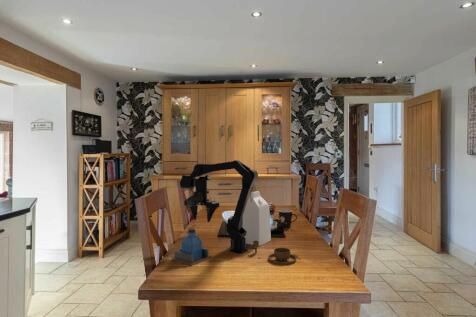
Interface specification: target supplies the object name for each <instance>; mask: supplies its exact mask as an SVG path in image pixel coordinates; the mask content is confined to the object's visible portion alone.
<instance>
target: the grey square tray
mask: <svg viewBox="0 0 476 317" xmlns="http://www.w3.org/2000/svg"><path fill="white" fill-rule="evenodd" d="M173 252H174V255H173V257H171V260H172V261H173V262H177V263H181V264H185V265H187V266H192V267H193V266H195V265H197V264H199V263H202V262H204V261H207V260H209V259H212V255H210V254H209V248H206V247H202V256H201V257H198V258H196V259H194V254H190V253H186V252H182V247H181V248H178V249H176V250H174V251H173Z"/></svg>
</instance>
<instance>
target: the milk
mask: <svg viewBox="0 0 476 317" xmlns="http://www.w3.org/2000/svg"><path fill="white" fill-rule="evenodd" d="M260 192H261V191H258V190H257V191H250V196H249V197H250V198H248V200H247V204H246V207H245V210H244V213H243V224H242V227H243V228H244V229H245V230H246V232H247V233H246V236H244V238H246V244H247V245H251V246H252V245H253V241H259V245H258V247H260V246H263V245H265V244H266V243H268V242H270V241H271V240H272V238H271V237H272V236H271V234H272V233H271V232H272V231H271V214H270V213H271V212H270V205H269V203H268V202H267V201H266V200H265V199H264V198H263V197H262V196H261V193H260Z"/></svg>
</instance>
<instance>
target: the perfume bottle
mask: <svg viewBox="0 0 476 317" xmlns="http://www.w3.org/2000/svg"><path fill="white" fill-rule="evenodd" d="M187 230H188V231H187V236H185V237H184V238H183V239H182V242H181V248H182V252H186V253H190V254H194V259H196V258H198V257H201V256H202V248H203V242H202V240H201V239H200V237H199V236H197V234H196V228H194V227H191V228H188V229H187Z"/></svg>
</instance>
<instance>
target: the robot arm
mask: <svg viewBox="0 0 476 317" xmlns="http://www.w3.org/2000/svg"><path fill="white" fill-rule="evenodd" d="M226 170H227V171H228V170H235V171H236V172H237V173H238V174H239V175H240V177H242V178H241V190H240V193H239V197H238V200H237V202H236V206H235V209H234V212H233V215H232V216H230V217H228V218H227V222H226V225H225V227H226V229H225V230H226V233H227V234H228V235H229V238H230V249H228V250H229V251H228V252H232V253H237V254H241V253H244V252H246V251H248V248H247V247H246V246H247V245H246V238H244V236H246V233H247V232H246V230H245V229H244V228H243V227H242V224H243V213H244V210H245V207H246V204H247V201H248V200H249V197H250V195H251V192H252V190H251V189H252V188H253V186H254V185H255V184H256V181H257V180H258V177H259V174H258V171H257V170H256V169H253V168H251V167H249V166H248V165H246V164H244V163H243V162H241V161H240V160H238V159H236V160H235V159H234V160H232V161H224V162H219V163H218V162H217V163H196V164H195V165H194V166H193V170H192V172H191V173H190V175H189V174H188V175H186V174H183V175H181V178H180V182H179V185H180V186H179V187H180V188H181V189H184V190H185V189H186V190H193V189H195V191H193V195H191V196H189V197H188V198H186V199H185V200H184V203H183V205H184V206H185V207H186V208H188V210H190V212H191V216H192V218H193V219H192V220H194V221H196V220H197V215H198V209H199V206H203V207H204V206H205V208H204V209H205V212H206V220H207V223H210V222H211V220H212V218H213V215H214V213H215V211H216V210H217V209H218V208H220V201H216V200H211V201H210V199H209V198H208V194H209V193H210V190H208V181H211V180H212V178H211V177H210V176H209V175H208V174H212V173H214V172H218V171H220V172H221V171H226Z"/></svg>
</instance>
